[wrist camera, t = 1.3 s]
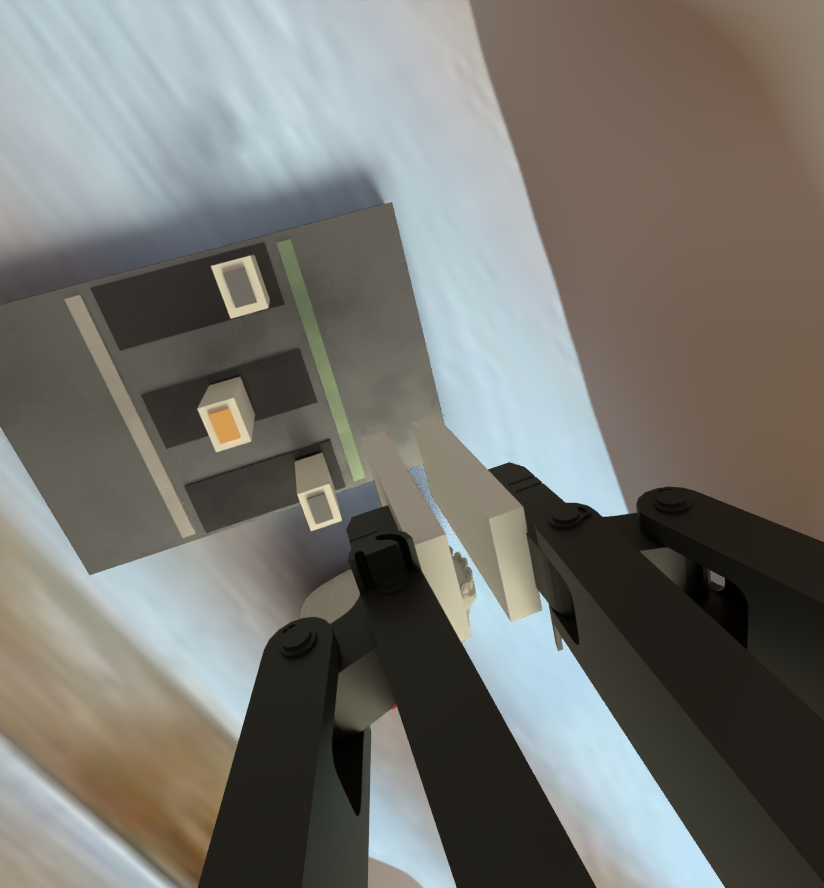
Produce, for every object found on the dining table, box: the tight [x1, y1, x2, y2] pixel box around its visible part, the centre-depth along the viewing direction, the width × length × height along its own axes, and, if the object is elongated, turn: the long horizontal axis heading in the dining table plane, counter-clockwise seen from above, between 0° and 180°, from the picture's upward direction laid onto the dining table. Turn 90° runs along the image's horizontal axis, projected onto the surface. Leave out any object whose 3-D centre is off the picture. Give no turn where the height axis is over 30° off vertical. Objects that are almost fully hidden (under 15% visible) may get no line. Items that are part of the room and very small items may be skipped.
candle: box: [300, 546, 476, 709], centre depth 37 cm, size 9×11×15 cm
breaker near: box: [211, 255, 270, 319], centre depth 26 cm, size 2×2×5 cm
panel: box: [0, 202, 445, 575], centre depth 32 cm, size 24×16×2 cm, turn 104°
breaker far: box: [295, 453, 342, 531], centre depth 31 cm, size 2×2×5 cm
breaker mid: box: [197, 377, 255, 452], centre depth 28 cm, size 2×2×5 cm
